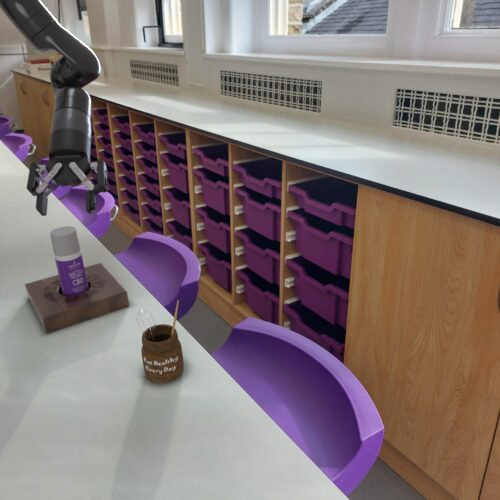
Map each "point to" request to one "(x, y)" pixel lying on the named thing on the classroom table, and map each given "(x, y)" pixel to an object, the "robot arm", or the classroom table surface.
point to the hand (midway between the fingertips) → (65, 212)
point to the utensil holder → (161, 352)
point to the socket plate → (76, 299)
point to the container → (69, 260)
